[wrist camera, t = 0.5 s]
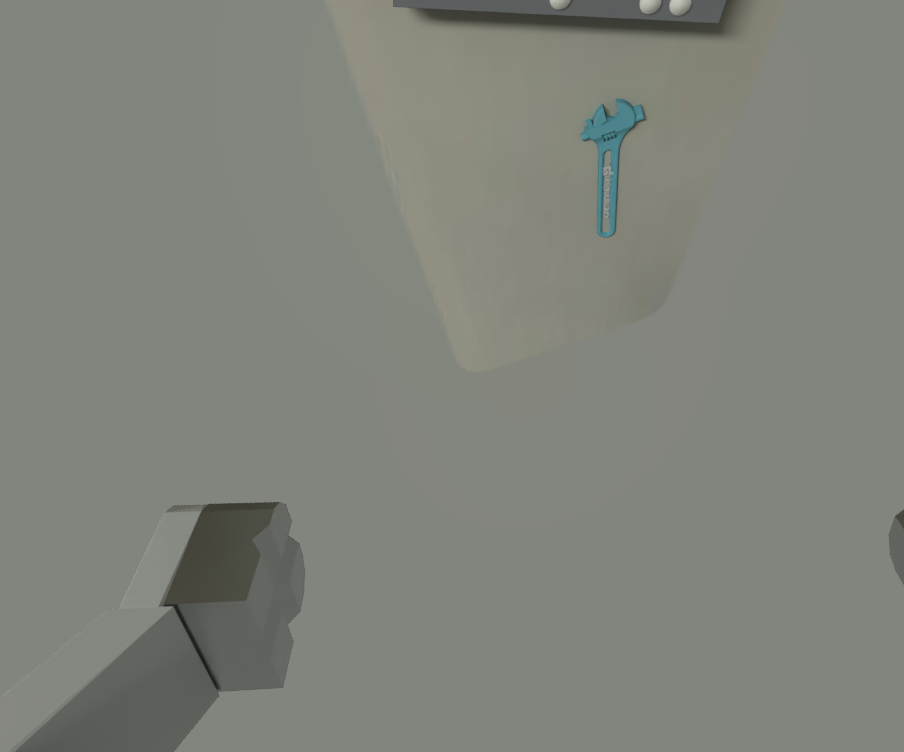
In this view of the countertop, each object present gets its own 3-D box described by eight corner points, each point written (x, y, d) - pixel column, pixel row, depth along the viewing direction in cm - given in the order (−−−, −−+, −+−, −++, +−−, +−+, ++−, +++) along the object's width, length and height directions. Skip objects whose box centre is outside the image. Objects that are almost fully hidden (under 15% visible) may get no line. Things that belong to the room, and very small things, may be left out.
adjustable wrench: (581, 107, 55) (646, 99, 55) (580, 100, 56) (644, 93, 55) (580, 243, 66) (635, 238, 65) (579, 236, 67) (633, 231, 66)
